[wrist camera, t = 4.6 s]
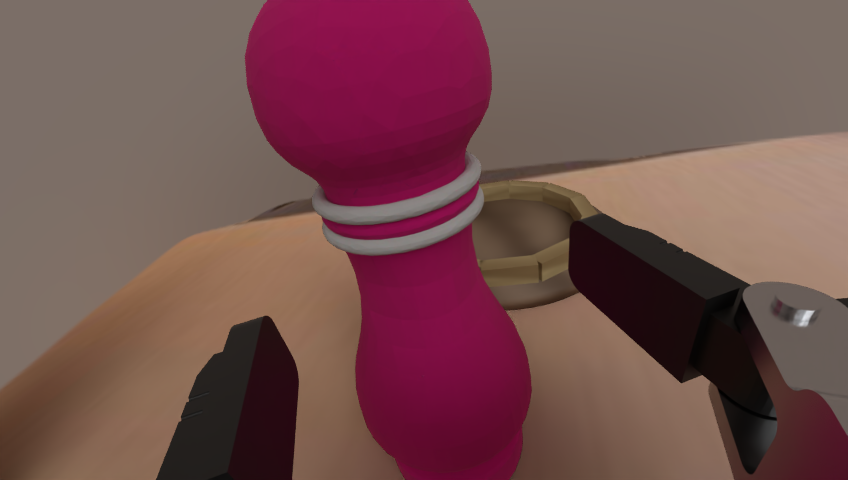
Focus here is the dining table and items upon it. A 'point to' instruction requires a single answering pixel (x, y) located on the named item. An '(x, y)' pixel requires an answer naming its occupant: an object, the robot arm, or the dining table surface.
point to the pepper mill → (401, 215)
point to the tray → (527, 241)
